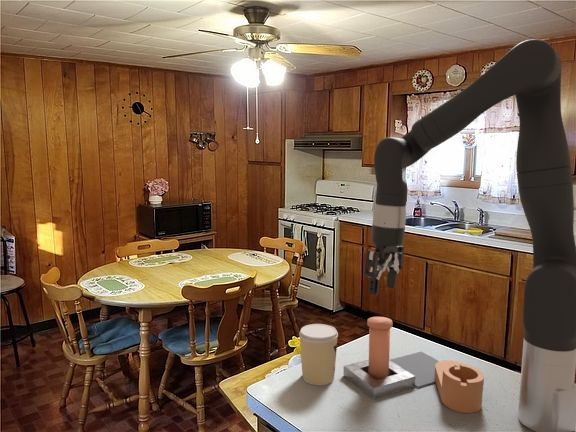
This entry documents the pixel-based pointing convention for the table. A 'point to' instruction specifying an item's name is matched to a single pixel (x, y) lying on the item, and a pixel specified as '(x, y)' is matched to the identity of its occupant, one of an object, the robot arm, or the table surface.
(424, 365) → the mat
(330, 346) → the coffee cup
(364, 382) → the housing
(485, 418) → the table surface
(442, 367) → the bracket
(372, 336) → the orange flanged cylinder
